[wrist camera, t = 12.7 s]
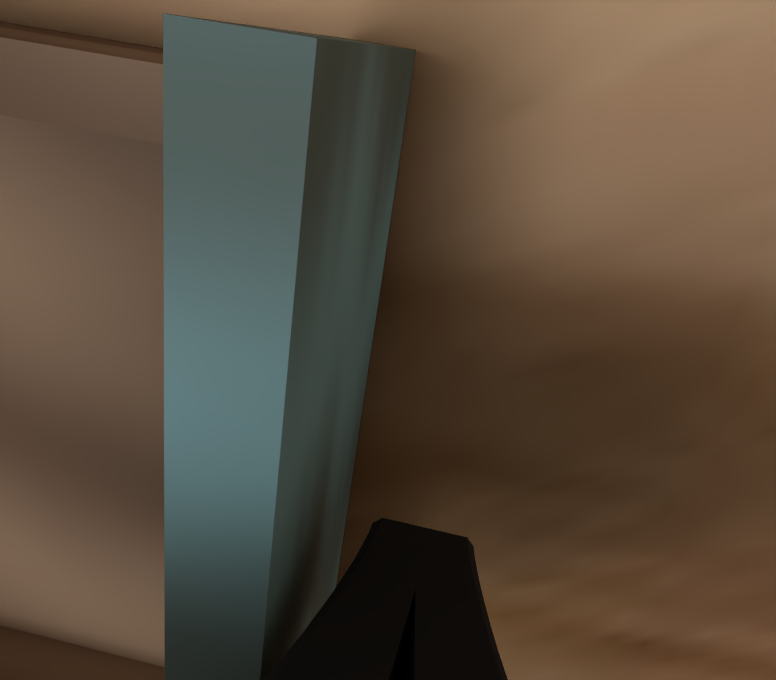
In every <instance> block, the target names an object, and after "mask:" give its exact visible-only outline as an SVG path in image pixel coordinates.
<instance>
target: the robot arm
mask: <svg viewBox="0 0 776 680" xmlns="http://www.w3.org/2000/svg"><path fill="white" fill-rule="evenodd" d="M264 680H508V679H507V676H506V673H505V670H504V667H503V664H502V661H501V658H500V655H499V652H498V649H497V646H496V642H495V639H494V636H493V632H492V629H491V625H490V622H489V618H488V614H487V610H486V607H485V603H484V599H483V595H482V591H481V587H480V582H479V577H478V573H477V567H476V562H475V556H474V548H473V545H472V544H471V542H470V541H469V540H468V538H467V537H463V536H459V535H454V534H450V533H445V532H441V531H437V530H432V529H428V528H424V527H419V526H415V525H411V524H406V523H402V522H398V521H393V520H389V519H385V518H382V519H380V520H378V521H376V522H374V523H373V524H372V526H371V529H370V531H369V533H368V536H367V538H366V539H365V541H364V543H363V545H362V547H361V549H360V550H359V552H358V554H357V556H356V557H355V559H354V561H353V562H352V564H351V565H350V567H349V569H348V570H347V572H346V573H345V575H344V576H343V578H342V579H341V581H340V582H339V584H338V585H337V587H336V588H335V590H334V591H333V592H332V594H331V595H330V597H329V598H328V599H327V601H326V602H325V603H324V605H323V606H322V607H321V609H320V610H319V611H318V613H317V614H316V615H315V617H314V618H313V619H312V621H311V622H310V624H309V625H308V626H307V628H306V629H305V630H304V632H303V633H302V634H301V635H300V637H299V638H298V639H297V641H296V642H295V643H294V644H293V646H292V647H291V648H290V649H289V650H288V651H287V653H286V654H285V655H284V656H283V657H282V659H281V660H280V661H279V662H278V663H277V665H276V666H275V667H274V668H273V669H272V670H271V672H270V673H269V674H268V675H267V676H266V678H265V679H264Z"/></svg>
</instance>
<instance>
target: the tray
mask: <svg viewBox="0 0 776 680" xmlns="http://www.w3.org/2000/svg"><path fill="white" fill-rule="evenodd" d="M415 52H416V50H414V49H408V48H402V47H396V46H389V45H383V44H377V43H371V42H364V41H358V40H352V39H346V38H339V37H332V36H324V35H317V34H310V33H302V32H295V31H288V30H280V29H273V28H266V27H258V26H251V25H244V24H237V23H229V22H222V21H215V20H207V19H200V18H193V17H185V16H178V15H171V14H163V49H160V48H154V47H148V46H142V45H136V44H130V43H124V42H118V41H112V40H106V39H100V38H94V37H88V36H82V35H76V34H70V33H64V32H58V31H52V30H46V29H40V28H33V27H27V26H21V25H15V24H9V23H3V22H0V680H264V679H265V678H266V676H267V675H268V674H269V673H270V672H271V670H272V669H273V668H274V667H275V666H276V665H277V663H278V662H279V661H280V660H281V659H282V657H283V656H284V655H285V654H286V653H287V651H288V650H289V649H290V648H291V647H292V646H293V644H294V643H295V642H296V641H297V639H298V638H299V637H300V635H301V634H302V633H303V632H304V630H305V629H306V628H307V626H308V625H309V624H310V622H311V621H312V619H313V618H314V617H315V615H316V614H317V613H318V611H319V610H320V609H321V607H322V606H323V605H324V603H325V602H326V601H327V599H328V598H329V597H330V595H331V594H332V592H333V591H334V590H335V588H336V584H337V577H338V570H339V564H340V557H341V550H342V544H343V537H344V530H345V523H346V517H347V510H348V503H349V496H350V490H351V483H352V476H353V469H354V463H355V456H356V449H357V443H358V436H359V429H360V422H361V416H362V409H363V402H364V395H365V389H366V382H367V375H368V368H369V362H370V355H371V348H372V342H373V335H374V328H375V321H376V315H377V308H378V301H379V294H380V288H381V281H382V274H383V267H384V261H385V254H386V247H387V241H388V234H389V227H390V220H391V214H392V207H393V200H394V193H395V187H396V180H397V173H398V166H399V160H400V153H401V146H402V140H403V133H404V126H405V119H406V113H407V106H408V99H409V92H410V86H411V79H412V72H413V65H414V59H415Z"/></svg>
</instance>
